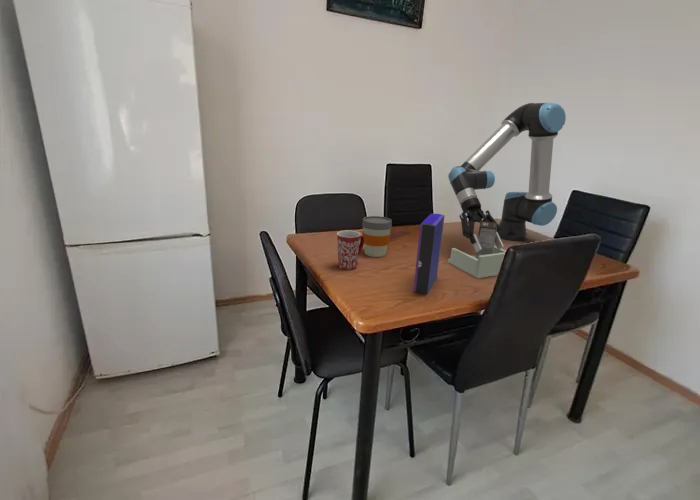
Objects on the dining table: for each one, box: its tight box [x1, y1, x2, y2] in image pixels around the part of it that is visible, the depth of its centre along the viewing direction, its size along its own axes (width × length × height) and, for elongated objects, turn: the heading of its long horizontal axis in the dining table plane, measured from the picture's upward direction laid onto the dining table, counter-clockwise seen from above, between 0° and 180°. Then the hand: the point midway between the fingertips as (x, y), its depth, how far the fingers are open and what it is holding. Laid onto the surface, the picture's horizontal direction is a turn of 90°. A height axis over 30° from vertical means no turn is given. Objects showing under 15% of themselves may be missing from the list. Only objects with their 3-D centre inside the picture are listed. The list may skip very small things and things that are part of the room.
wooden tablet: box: [389, 229, 413, 242], centre depth 196 cm, size 27×10×2 cm, turn 136°
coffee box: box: [474, 221, 498, 259], centre depth 157 cm, size 9×6×16 cm
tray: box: [447, 245, 507, 279], centre depth 159 cm, size 20×18×8 cm
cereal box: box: [412, 213, 445, 296], centre depth 138 cm, size 17×5×24 cm, turn 157°
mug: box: [336, 229, 364, 271], centre depth 154 cm, size 13×9×14 cm
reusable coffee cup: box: [361, 215, 393, 258], centre depth 168 cm, size 13×13×15 cm
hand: (490, 249), depth 155 cm, fingers closed on coffee box, 10 cm apart
